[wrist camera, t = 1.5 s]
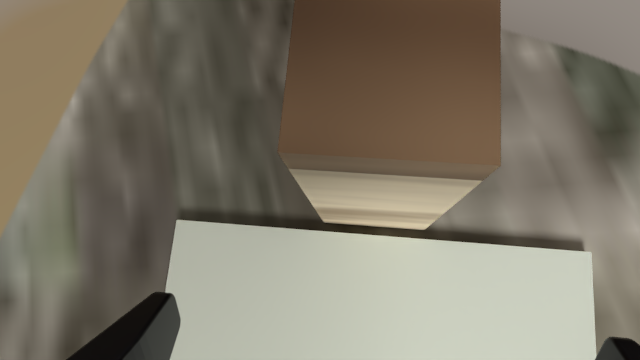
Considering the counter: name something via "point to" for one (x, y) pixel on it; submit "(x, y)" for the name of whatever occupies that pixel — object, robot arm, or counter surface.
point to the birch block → (391, 107)
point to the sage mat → (374, 297)
